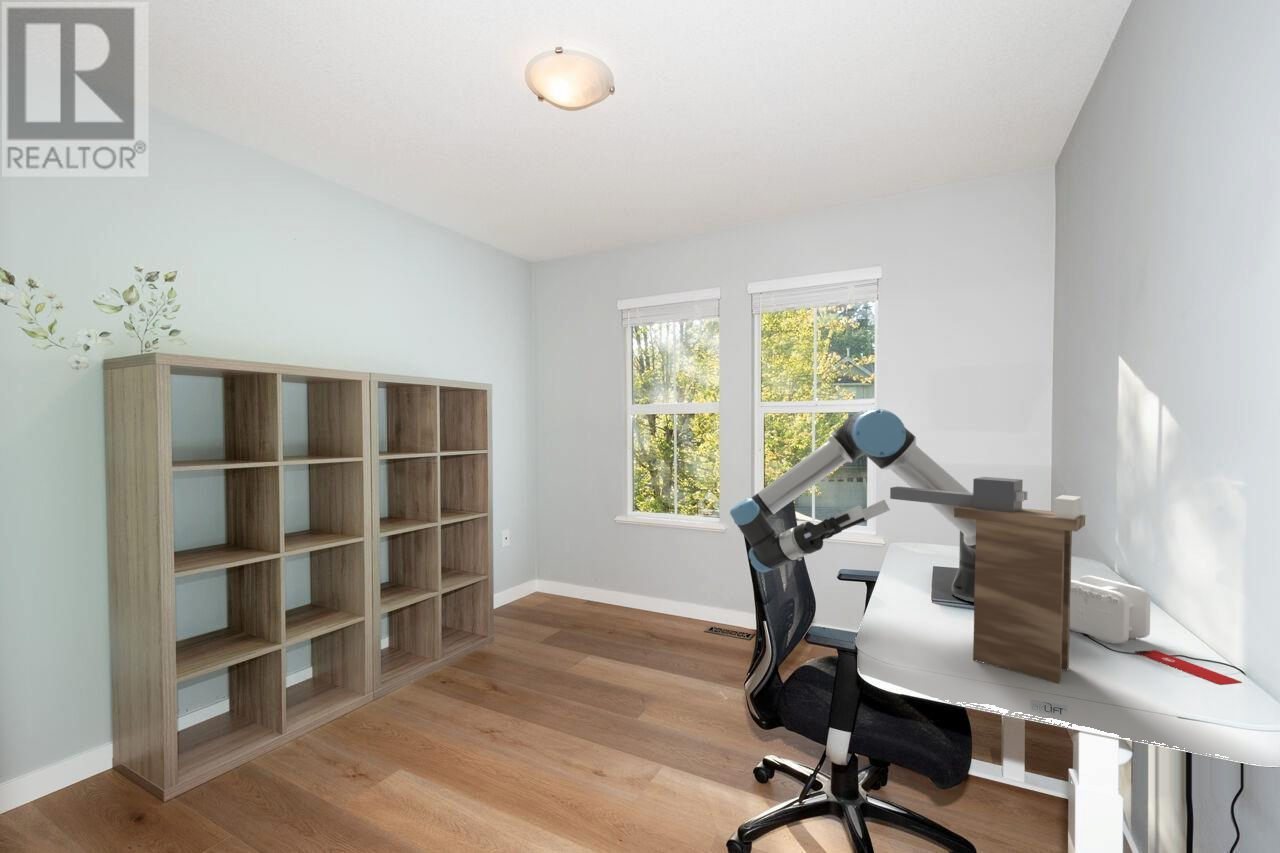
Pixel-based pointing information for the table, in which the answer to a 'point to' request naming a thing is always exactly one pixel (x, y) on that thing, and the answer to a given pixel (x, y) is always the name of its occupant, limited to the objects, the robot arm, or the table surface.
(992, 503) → the grey t-shaped block
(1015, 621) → the shelf
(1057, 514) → the white rectangular block
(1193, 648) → the table surface
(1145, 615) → the cable organizer
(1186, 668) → the electronic device
